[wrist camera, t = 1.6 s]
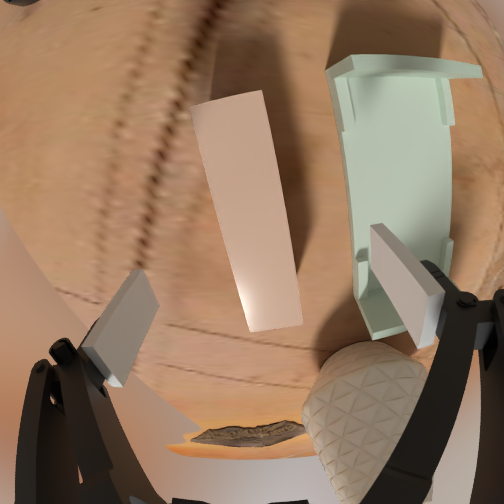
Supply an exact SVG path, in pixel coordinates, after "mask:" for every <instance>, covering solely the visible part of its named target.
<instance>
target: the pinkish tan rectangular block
mask: <svg viewBox="0 0 504 504" xmlns="http://www.w3.org/2000/svg"><path fill="white" fill-rule="evenodd" d="M189 109H190V113H191V117H192V121H193V125H194V129H195V133H196V137H197V141H198V145H199V149H200V153H201V157H202V161H203V164H204V168H205V172H206V176H207V180H208V184H209V187H210V191H211V195H212V199H213V202H214V206H215V210H216V213H217V217H218V221H219V225H220V228H221V232H222V235H223V239H224V243H225V246H226V250H227V253H228V257H229V260H230V264H231V267H232V271H233V274H234V278H235V281H236V285H237V288H238V292H239V295H240V299H241V302H242V305H243V309H244V312H245V316H246V319H247V322H248V326H249V329H250V332H257V331H264V330H271V329H278V328H284V327H291V326H297V325H303V318H302V311H301V304H300V297H299V290H298V283H297V276H296V269H295V263H294V256H293V250H292V244H291V238H290V232H289V226H288V220H287V214H286V208H285V203H284V197H283V192H282V186H281V181H280V176H279V170H278V165H277V160H276V155H275V150H274V145H273V140H272V135H271V130H270V126H269V121H268V116H267V112H266V107H265V102H264V98H263V93H262V90H258V91H253V92H248V93H243V94H238V95H234V96H229V97H225V98H221V99H217V100H213V101H209V102H205V103H201V104H197V105H194V106H190V107H189Z"/></svg>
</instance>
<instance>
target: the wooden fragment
mask: <svg viewBox="0 0 504 504" xmlns="http://www.w3.org/2000/svg"><path fill="white" fill-rule="evenodd" d="M305 433H307V431H306V429H305V426H304V425H302V424H297V423H295V422H289V421H283V422H279V423H278V424H272V425H268V426H261V427H256V428H246V429H245V428H241V427H240V428H236V427H230V428H226V429H221V430H207V431H206V432H203V433H202V434H201V435H199V436H198V437H196V438H195V439H194V438H192V439H191V442H196V443H203V444H213V445H223V446H231V447H264V446H270V445H274V444H277V443H279V442H282V441H285V440H288V439H291V438H294V437H296V436H298V435H301V434H305Z"/></svg>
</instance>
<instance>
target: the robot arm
mask: <svg viewBox="0 0 504 504" xmlns="http://www.w3.org/2000/svg"><path fill="white" fill-rule="evenodd" d="M4 1H5V2H6V3H9V4H12V5H17V6H27V5H30V4H33V3H35V2H37V1H39V0H4ZM370 242H371V269H372V271H373V272H374V274H375V276H376V277H377V279H378V280H379V282H380V284H381V285H382V287H383V288H384V290H385V292H386V293H387V295H388V297H389V299H390V300H391V302H392V304H393V305H394V307H395V309H396V310H397V312H398V314H399V316H400V318H401V319H402V321H403V323H404V325H405V326H406V328H407V330H408V332H409V334H410V336H411V337H412V339H413V341H414V343H415V345H416V347H417V349H420V348H423V347H426V346H429V345H432V344H433V342H434V338H435V335H437V337H438V338H439V340H440V341H439V345H438V348H437V351H436V354H435V357H434V360H433V363H432V366H431V369H430V371H429V374H428V377H427V379H426V382H425V385H424V387H423V390H422V392H421V395H420V397H419V399H418V402H417V404H416V406H415V408H414V411H413V413H412V415H411V417H410V419H409V421H408V423H407V426H406V428H405V430H404V432H403V434H402V435H401V437H400V439H399V441H398V443H397V445H396V447H395V449H394V450H393V452H392V454H391V456H390V457H389V459H388V461H387V463H386V464H385V466H384V467H383V469H382V471H381V472H380V474H379V475H378V477H377V479H376V480H375V482H374V483H373V485H372V486H371V488H370V489H369V491H368V492H367V493H366V495H365V496H364V498H363V499H362V500H361V502H360V503H359V504H422V503H423V502H424V500H425V498H426V496H427V494H428V492H429V490H430V488H431V485H432V478H433V475H434V472H435V470H436V468H437V466H438V463H439V461H440V459H441V457H442V454H443V452H444V450H445V447H446V445H447V442H448V440H449V437H450V435H451V431H452V429H453V426H454V423H455V420H456V417H457V414H458V411H459V408H460V405H461V401H462V398H463V394H464V391H465V386H466V383H467V379H468V375H469V370H470V366H471V361H472V356H473V350H477V349H478V353H479V365H480V379H481V380H480V381H481V423H480V424H481V425H480V439H479V451H478V458H477V467H476V472H475V478H474V484H473V489H472V494H471V499H470V504H504V289H499V290H497V291H496V292H495V294H494V296H493V300H484V301H479V300H478V298H477V297H476V296H475V295H473V294H472V293H469V292H463V291H461V292H460V291H459V290H458V289H457V287H456V286H455V285H454V284H453V283H452V282H451V281H450V280H449V278H448V277H447V276H445V274H444V273H443V272H442V271H441V270H440V269H439V268H438V267H437V265H436V264H434V263H432V262H430V261H428V260H427V259H426V260H422V261H419V260H418V259H417V258H416V257H415V256H414V255H413V254H412V253H411V252H410V251H409V250H408V249H407V247H406V246H405V245H404V244H403V243H402V242H401V241H400V240H399V239H398V238H397V237H396V236H395V235H394V234H393V233H392V232H391V231H390V230H389V229H388V228H387V227H386V226H385V225H384V224H383V223H378V224H373V225H370ZM159 306H160V305H159V303H158V301H157V299H156V297H155V295H154V292H153V290H152V288H151V286H150V284H149V282H148V279H147V277H146V275H145V273H144V270H143V269H138V270H133V271H132V272H131V273H130V275H129V276H128V277H127V279H126V280H125V281H124V283H123V284H122V286H121V287H120V289H119V290H118V291H117V293H116V294H115V296H114V297H113V299H112V300H111V301H110V303H109V304H108V306H107V307H106V309H105V310H104V312H103V313H102V315H101V316H100V318H98V319H97V320H96V321H95V322H94V324H93V325H92V327H91V328H90V330H89V331H88V333H87V335H86V336H85V338H84V339H83V341H82V342H81V344H80V346H79V347H78V349H77V350H76V349H75V347H74V346H73V345H72V343H71V342H70V340H69V339H68V338H62V339H59V340H58V341H56V342H55V343H54V344H53V345H52V346H51V348H50V350H49V354H50V355H51V356H52V357H53V359H54V360H55V362H56V363H57V365H53V366H52V365H51V364H50V363H49V361H48V360H47V359H42V360H40V361H38V362H37V363H35V365H34V367H33V368H32V370H31V374H30V378H29V382H28V387H27V391H26V395H25V400H24V405H23V410H22V416H21V423H20V429H19V437H18V445H17V455H16V472H15V503H14V504H167V503H166V502H165V501H164V500H163V499H162V498H161V497H160V496H159V495H158V494H157V493H156V491H155V490H154V488H153V487H152V485H151V483H150V481H149V480H148V478H147V476H146V474H145V473H144V471H143V469H142V467H141V465H140V464H139V462H138V460H137V458H136V456H135V454H134V452H133V450H132V448H131V446H130V444H129V442H128V440H127V437H126V435H125V433H124V431H123V429H122V426H121V424H120V422H119V419H118V417H117V415H116V412H115V410H114V407H113V405H112V402H111V399H110V397H109V394H108V391H107V389H106V387H105V386H104V385H103V382H104V380H105V379H106V380H107V382H108V383H109V384H110V385H111V386H112V387H124V384H125V382H126V380H127V377H128V375H129V373H130V370H131V368H132V366H133V363H134V361H135V359H136V356H137V354H138V352H139V349H140V347H141V345H142V343H143V340H144V338H145V336H146V334H147V332H148V329H149V327H150V325H151V323H152V321H153V318H154V316H155V314H156V312H157V310H158V308H159ZM50 396H51V397H52V398H53V399H54V404H53V403H52V402H51V400H50ZM78 466H79V470H80V472H81V476H82V479H83V483H81V484H80V483H79V473H78ZM171 504H209V503H206V502H203V501H194V500H186V499H178V498H172V503H171ZM269 504H309V502H308V500H299V501H289V502H275V503H269Z"/></svg>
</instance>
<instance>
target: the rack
mask: <svg viewBox="0 0 504 504" xmlns="http://www.w3.org/2000/svg"><path fill="white" fill-rule="evenodd" d="M325 72H326V76H327V81H328V85H329V90H330V94H331V99H332V104H333V109H334V114H335V119H336V124H337V130H338V136H339V142H340V148H341V155H342V161H343V168H344V176H345V184H346V192H347V201H348V211H349V222H350V235H351V249H352V268H353V295H354V298H355V300H356V302H357V304H358V307H359V309H360V311H361V314H362V316H363V319H364V321H365V323H366V326H367V328H368V331H369V333H370V336H371V338H372V340H376V339H380V338H384V337H388V336H391V335H395V334H399V333H402V332H405V331H408V330H407V328H406V326H405V325H404V323H403V321H402V319H401V318H400V316H399V314H398V312H397V310H396V309H395V307H394V305H393V304H392V302H391V300H390V299H389V297H388V295H387V293H386V292H385V290H384V288H383V287H382V285H381V284H380V282H379V280H378V279H377V277H376V276H375V274H374V272H373V271H372V269H371V242H370V225H373V224H378V223H383V224H384V225H385V226H386V227H387V228H388V229H389V230H390V231H391V232H392V233H393V234H394V235H395V236H396V237H397V238H398V239H399V240H400V241H401V242H402V243H403V244H404V245H405V246H406V247H407V249H408V250H409V251H410V252H411V253H412V254H413V255H414V256H415V257H416V258H417V259H418V260H419V261H422V260H426V259H427V260H428V261H430V262H432V263H434V264H436V265H437V267H438V268H439V269H440V270H441V271H442V272H443V273H444V274H445V276H447V277H448V278H449V272H450V266H451V260H452V252H453V244H454V241H453V240H452V239H451V238H449V233H450V221H451V202H452V158H451V140H450V128H449V126H455V120H454V111H453V103H452V96H451V90H450V84H449V79H456V78H483V75H482V70H481V66H479V65H474V64H469V63H464V62H458V61H452V60H445V59H438V58H430V57H420V56H407V55H385V54H358V55H350V56H348V57H346V58H345V59H343V60H341V61H340V62H338V63H336V64H335V65H333V66H331V67H330V68H328V69H327V70H325ZM449 280H450V281H451V282H452V283H453V284H454V285H455V286H456V284H455V283H454V282H453V281H452V280H451V279H450V278H449ZM456 287H457V286H456ZM457 289H458V290H459V291H460V292H461V290H460V289H459V288H458V287H457Z"/></svg>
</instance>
